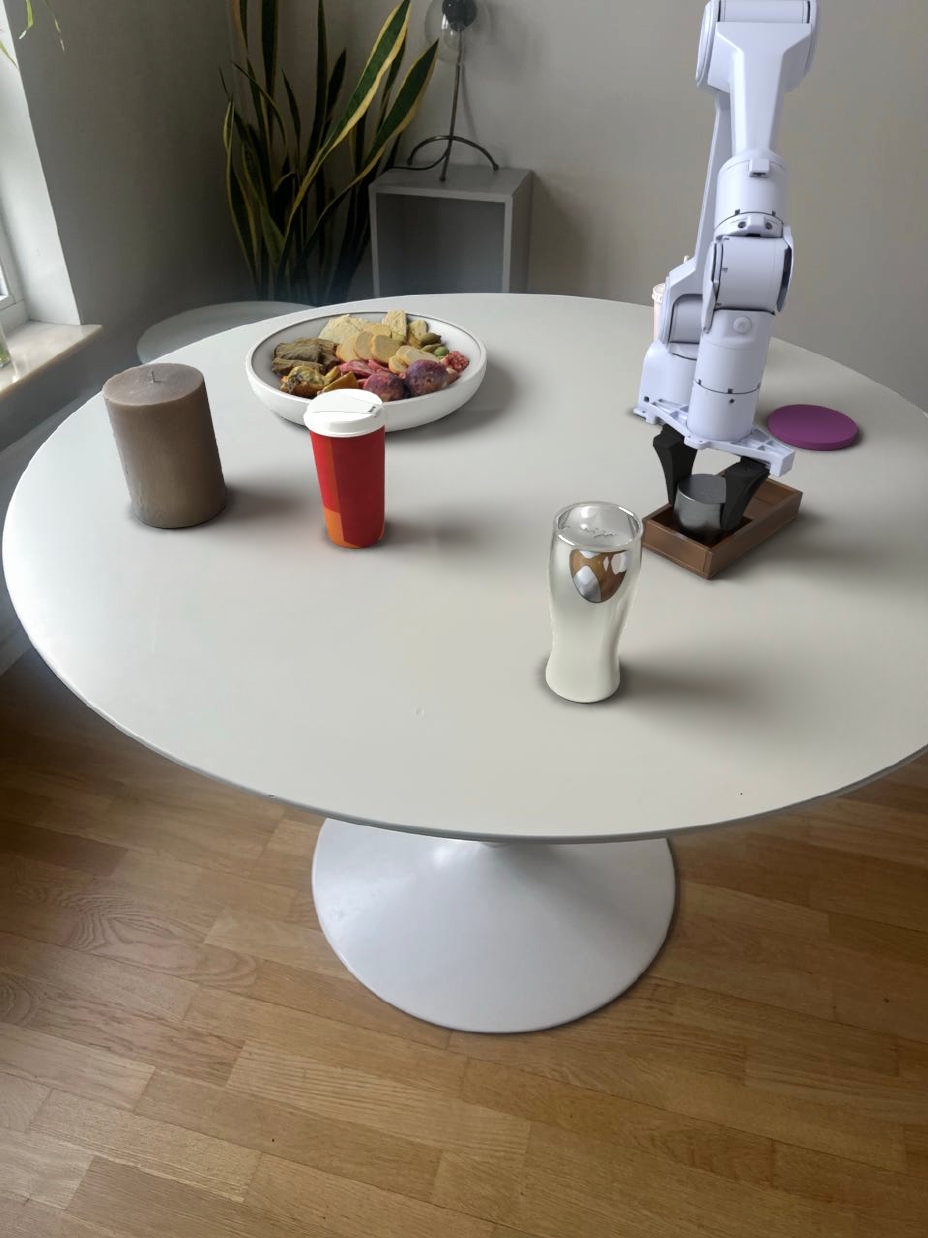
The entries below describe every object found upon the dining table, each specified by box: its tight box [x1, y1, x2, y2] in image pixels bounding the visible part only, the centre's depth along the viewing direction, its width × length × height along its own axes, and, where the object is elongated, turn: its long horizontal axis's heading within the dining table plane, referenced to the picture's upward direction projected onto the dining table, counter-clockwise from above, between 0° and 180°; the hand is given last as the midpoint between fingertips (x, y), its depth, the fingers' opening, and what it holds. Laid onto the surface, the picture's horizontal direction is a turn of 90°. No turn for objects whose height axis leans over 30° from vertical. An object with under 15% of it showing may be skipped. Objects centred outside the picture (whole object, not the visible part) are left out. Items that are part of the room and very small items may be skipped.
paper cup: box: [304, 389, 388, 549], centre depth 89 cm, size 8×8×14 cm
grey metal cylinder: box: [673, 473, 726, 549], centre depth 90 cm, size 6×6×6 cm
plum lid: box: [767, 403, 858, 451], centre depth 111 cm, size 10×10×1 cm
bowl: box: [245, 309, 488, 433], centre depth 117 cm, size 30×30×8 cm
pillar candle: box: [101, 362, 228, 529], centre depth 93 cm, size 10×10×15 cm
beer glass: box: [545, 500, 644, 704], centre depth 72 cm, size 7×7×15 cm
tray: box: [641, 465, 804, 580], centre depth 93 cm, size 8×16×3 cm, turn 133°
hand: (702, 513), depth 90 cm, fingers closed on grey metal cylinder, 5 cm apart
